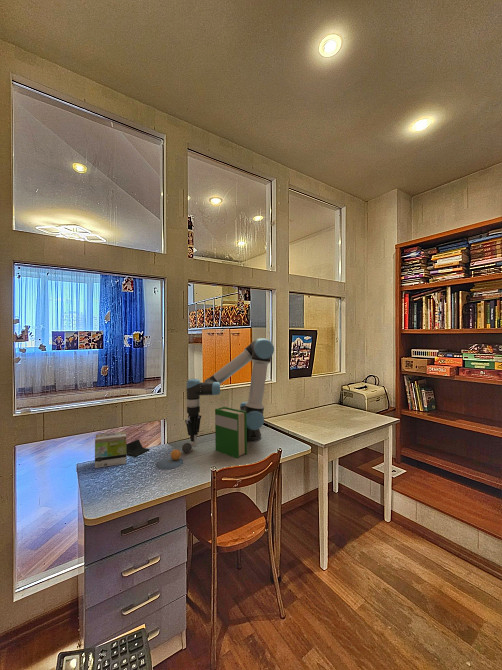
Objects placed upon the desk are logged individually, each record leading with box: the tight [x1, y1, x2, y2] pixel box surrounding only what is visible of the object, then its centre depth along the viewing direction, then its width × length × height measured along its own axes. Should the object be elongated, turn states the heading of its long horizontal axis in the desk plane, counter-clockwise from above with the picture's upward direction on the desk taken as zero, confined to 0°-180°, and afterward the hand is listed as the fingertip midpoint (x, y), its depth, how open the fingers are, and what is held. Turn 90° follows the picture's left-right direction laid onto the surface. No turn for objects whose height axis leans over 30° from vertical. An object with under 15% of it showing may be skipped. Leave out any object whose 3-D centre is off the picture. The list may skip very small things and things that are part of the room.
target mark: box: [155, 457, 184, 470], centre depth 160 cm, size 14×14×1 cm
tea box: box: [94, 430, 127, 469], centre depth 162 cm, size 15×10×15 cm, turn 114°
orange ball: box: [170, 449, 182, 460], centre depth 165 cm, size 6×6×6 cm
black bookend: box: [126, 439, 151, 458], centre depth 176 cm, size 12×7×10 cm
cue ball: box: [181, 442, 193, 454], centre depth 174 cm, size 6×6×6 cm
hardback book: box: [214, 406, 248, 460], centre depth 174 cm, size 18×7×24 cm, turn 49°
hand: (193, 446), depth 179 cm, fingers closed
